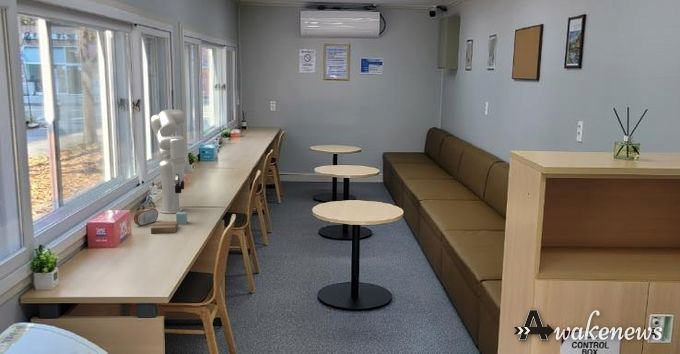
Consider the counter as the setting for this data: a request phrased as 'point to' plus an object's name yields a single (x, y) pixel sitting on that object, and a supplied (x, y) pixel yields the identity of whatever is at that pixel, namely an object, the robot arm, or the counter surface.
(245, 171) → the counter surface
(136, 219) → the wooden speaker
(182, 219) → the block
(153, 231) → the base
